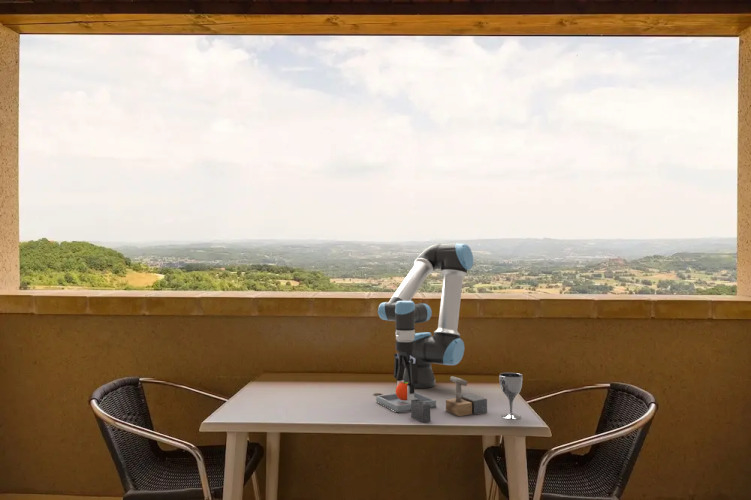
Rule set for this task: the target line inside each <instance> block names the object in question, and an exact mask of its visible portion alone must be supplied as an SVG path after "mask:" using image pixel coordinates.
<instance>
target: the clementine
mask: <svg viewBox="0 0 751 500" xmlns="http://www.w3.org/2000/svg"><path fill="white" fill-rule="evenodd" d="M407 384H408V382H403V383H400V384H399V385H398V386H396V388H395V393H396V395H397V397H398V398H399V399H400V400H403V401H406V400H407Z"/></svg>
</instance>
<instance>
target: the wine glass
mask: <svg viewBox="0 0 751 500" xmlns="http://www.w3.org/2000/svg"><path fill="white" fill-rule="evenodd" d="M498 377H499V386H500V389H501V392H502V393H503V394H504V395H505V396H506V397H507V399H508V401H509V413H504V414H501V415H500V417H501V418H502V419H504V420H510V421H518V420H520V419H522V416H521V415H519V414H517V413H513V404H514V399H515V398H516V397H517V396H518V395H519V394H520V392H521V389H522V387H523V374H521V373H517V372H501V373H500V374H499V376H498Z"/></svg>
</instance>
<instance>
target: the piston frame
mask: <svg viewBox="0 0 751 500" xmlns="http://www.w3.org/2000/svg"><path fill="white" fill-rule="evenodd" d="M461 399H463V400H466V401H468V402H471V403H472V414H471V415H479V414H484V413H485V414H486V413H488V398H486V397H484V396H480V395H477V394H476V393H471V392H470V393H465V394H461ZM410 413H411V416H410V417H411V418H412V417H413V419H414V418H415V419H414V420H416V419H417V421H419V422H421V423H423V424H425V423H429V422H431V421H432V420H431V408H430V404H428V403H426V402H424V401H421V400H419V399H416V400H411V411H410Z"/></svg>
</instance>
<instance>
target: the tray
mask: <svg viewBox="0 0 751 500" xmlns="http://www.w3.org/2000/svg"><path fill="white" fill-rule="evenodd" d="M375 397H376V399H375V402H376V401H377V402H379V403H381V404H382V405H381V404H380V405H381V406H383V405H384V406H386V407H388V408H390V409H392V410H394V411H396V412H402V413H406V412H405V411H408V412H411V402H407V400H406V401H403V400H400V399H399V398H397V395H396V392H395V393H389V394H382V395H376V396H375ZM416 399H419V400H421V401H424V402H426V403H428V404H430V409H432V408H436V407H437V400H436V399H434V398H431V397H429V396H427V395H424V394H421V393H419V392H417V391H414V400H416ZM377 402H376V403H377ZM379 403H378V404H379ZM384 406H383V407H384ZM386 407H385V408H386ZM388 408H387V409H388ZM390 409H389V410H390ZM392 410H391V411H392ZM394 411H393V412H394ZM396 412H395V413H396Z"/></svg>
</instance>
